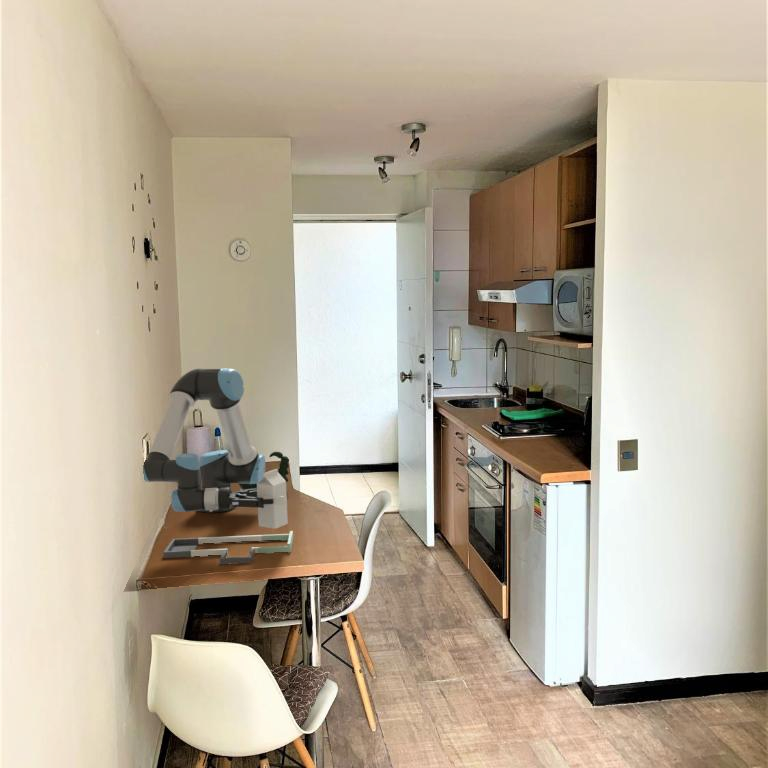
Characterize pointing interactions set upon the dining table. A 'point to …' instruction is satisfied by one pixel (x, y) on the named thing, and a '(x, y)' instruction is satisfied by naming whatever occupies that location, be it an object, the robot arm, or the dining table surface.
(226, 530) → the dining table surface
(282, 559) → the dining table surface
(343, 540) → the dining table surface
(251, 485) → the toy figurine
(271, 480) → the milk carton
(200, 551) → the trap lane
